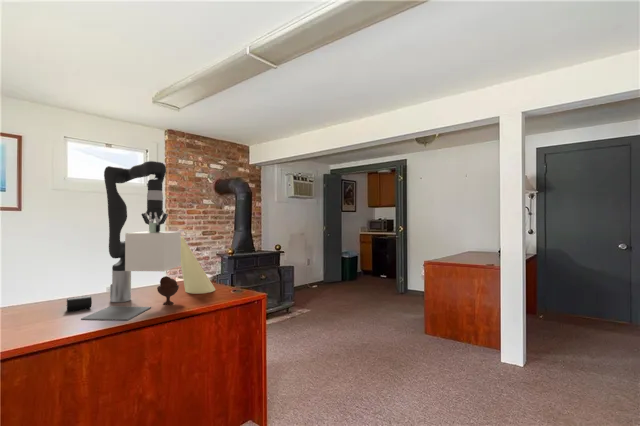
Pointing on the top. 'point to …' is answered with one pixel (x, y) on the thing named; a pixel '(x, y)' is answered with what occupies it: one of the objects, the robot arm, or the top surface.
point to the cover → (152, 250)
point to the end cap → (79, 303)
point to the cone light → (193, 272)
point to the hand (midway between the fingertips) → (154, 232)
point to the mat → (116, 313)
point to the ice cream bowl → (167, 288)
